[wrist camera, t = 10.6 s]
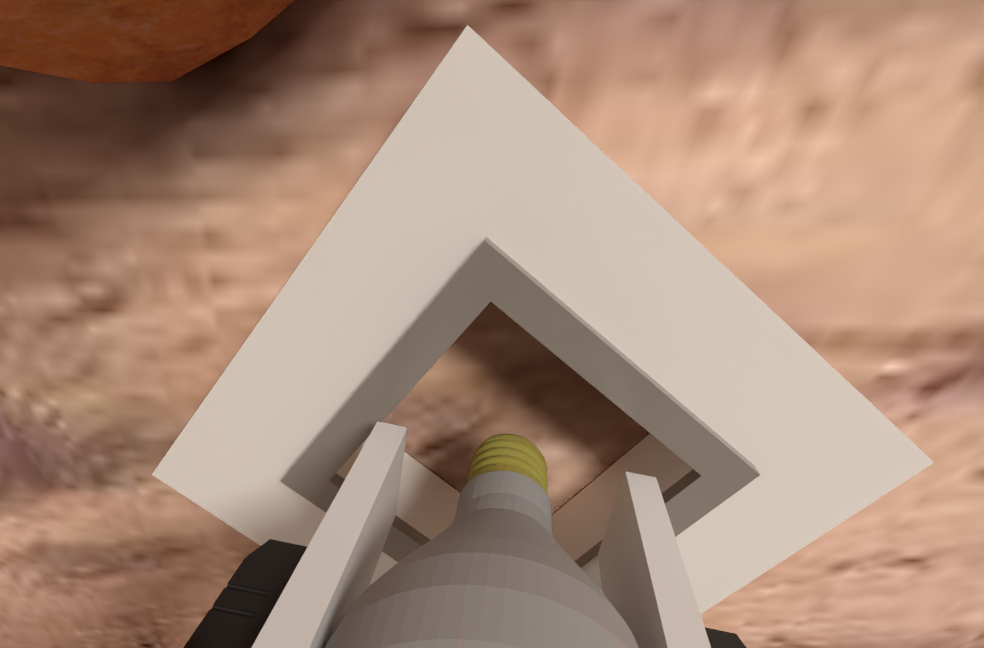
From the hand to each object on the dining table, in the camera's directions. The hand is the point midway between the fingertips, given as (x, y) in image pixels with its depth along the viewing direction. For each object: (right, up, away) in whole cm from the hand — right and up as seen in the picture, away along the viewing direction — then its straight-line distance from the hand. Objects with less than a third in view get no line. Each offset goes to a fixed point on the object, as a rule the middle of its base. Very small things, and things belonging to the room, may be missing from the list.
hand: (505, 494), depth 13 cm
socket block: (0, +1, +3) cm, 4 cm away
